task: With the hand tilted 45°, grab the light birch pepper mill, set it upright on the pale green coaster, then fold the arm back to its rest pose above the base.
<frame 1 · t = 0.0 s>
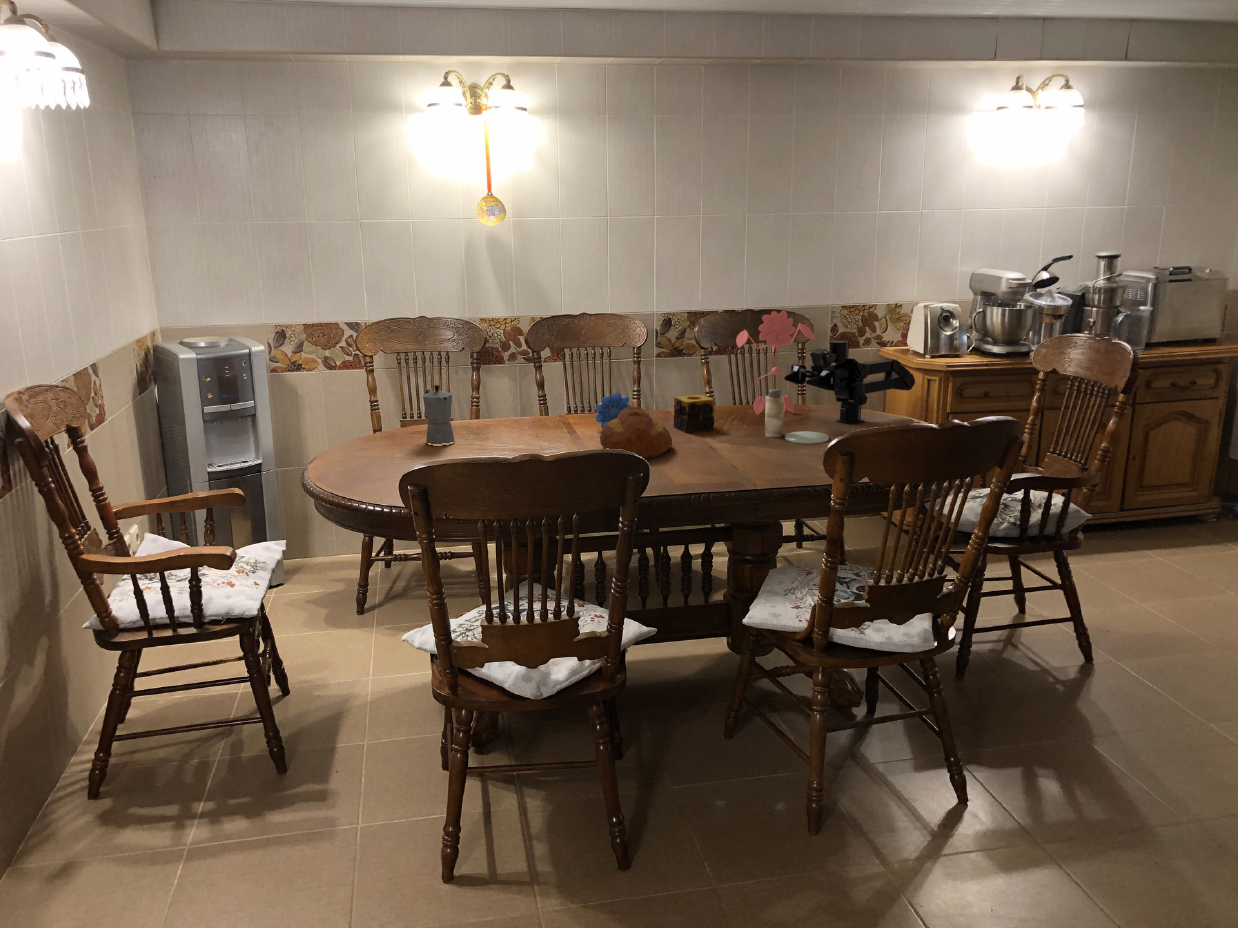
hand: (795, 380, 300), 17 cm above the table, tool horizontal, fingers open, 9 cm apart
coffeepot: (439, 443, 301), on the table
bread: (636, 450, 289), on the table
pepper mill: (773, 435, 302), on the table
pale green coaster: (806, 438, 296), on the table
grapes: (613, 429, 315), on the table
black and yellow cube: (693, 429, 313), on the table
figurine: (775, 416, 329), on the table
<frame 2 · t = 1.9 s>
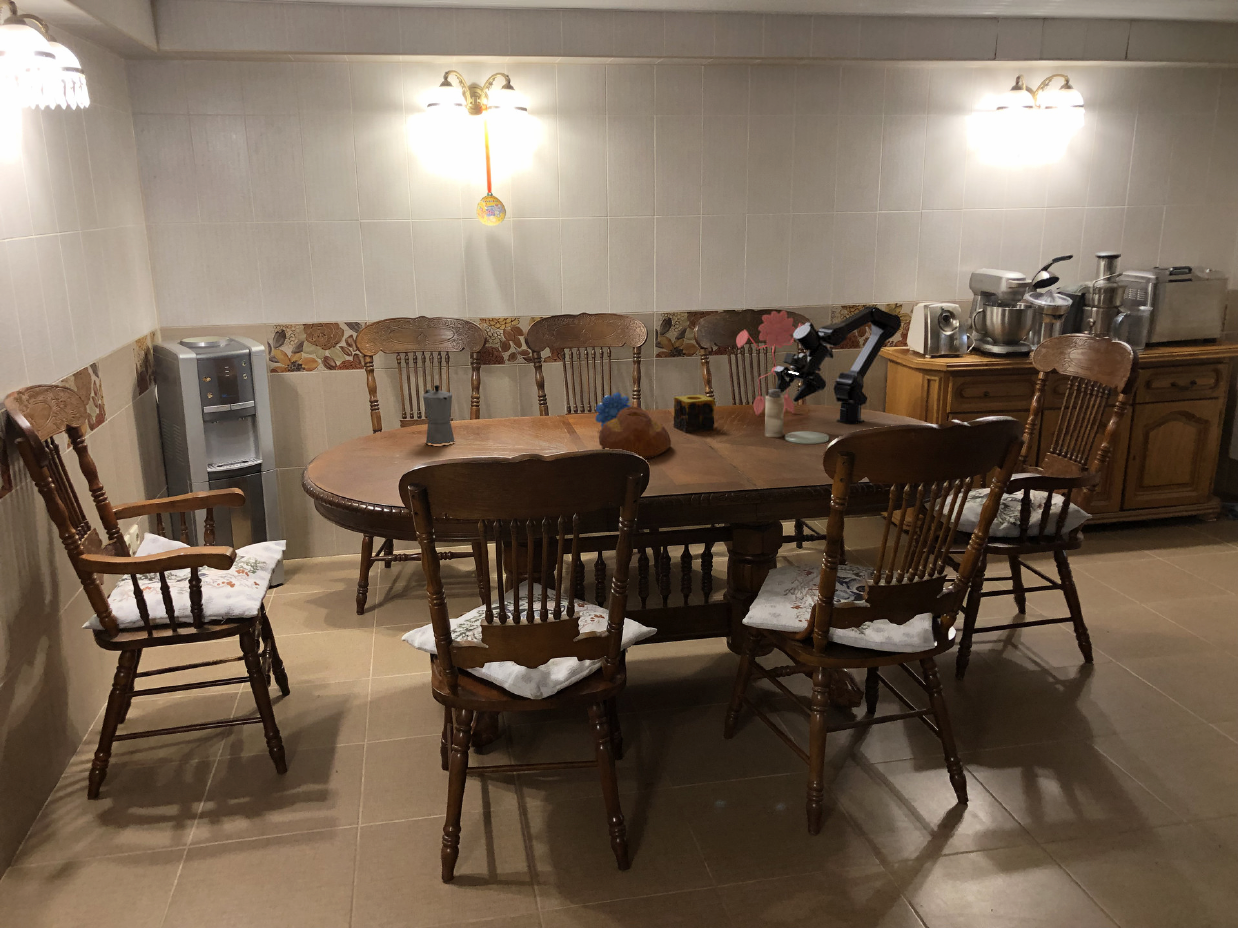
hand: (784, 398, 301), 11 cm above the table, tool tilted 45°, fingers open, 9 cm apart
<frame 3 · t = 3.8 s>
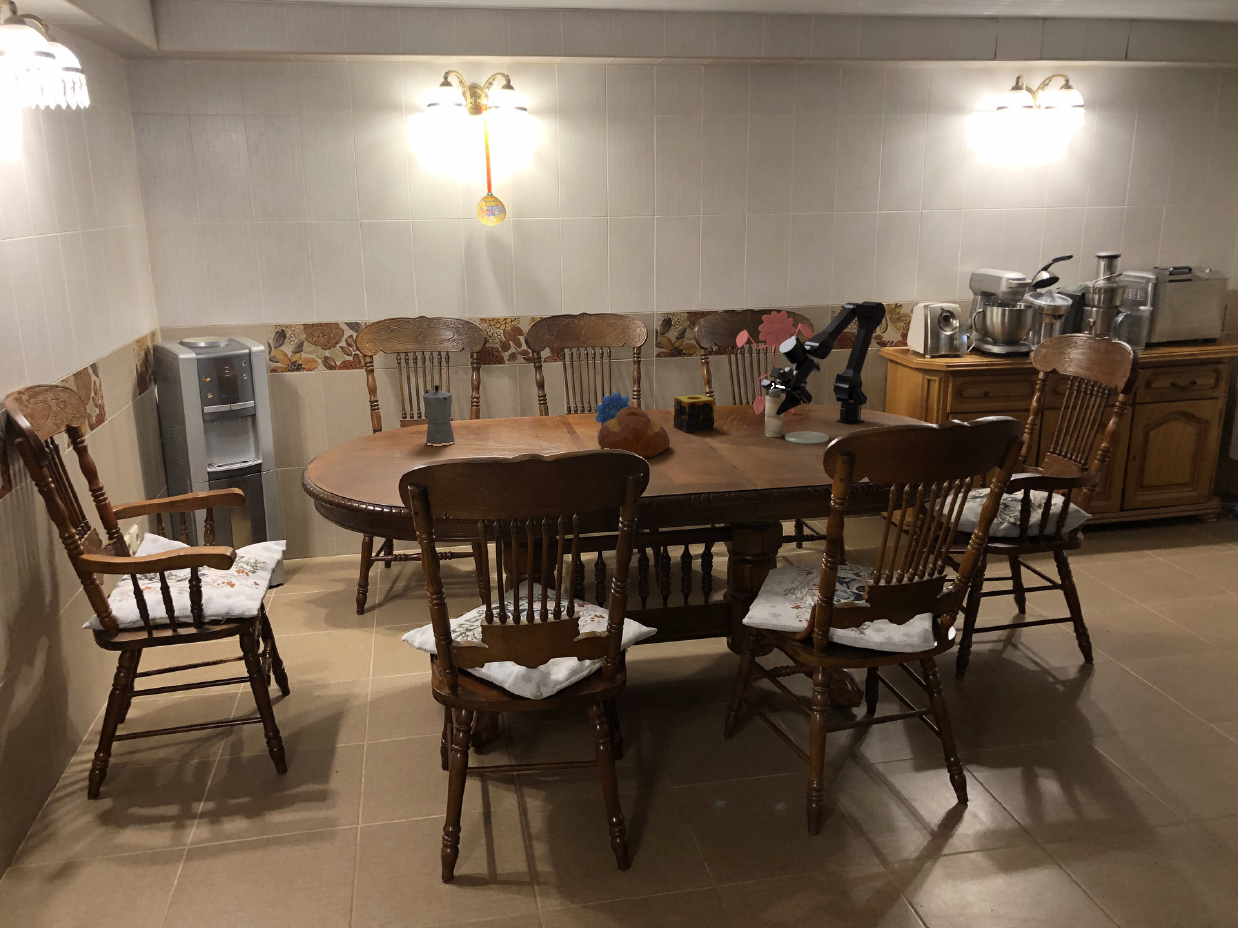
hand: (770, 413, 300), 7 cm above the table, tool tilted 45°, fingers closed on pepper mill, 5 cm apart
pepper mill: (773, 435, 302), on the table, touching gripper
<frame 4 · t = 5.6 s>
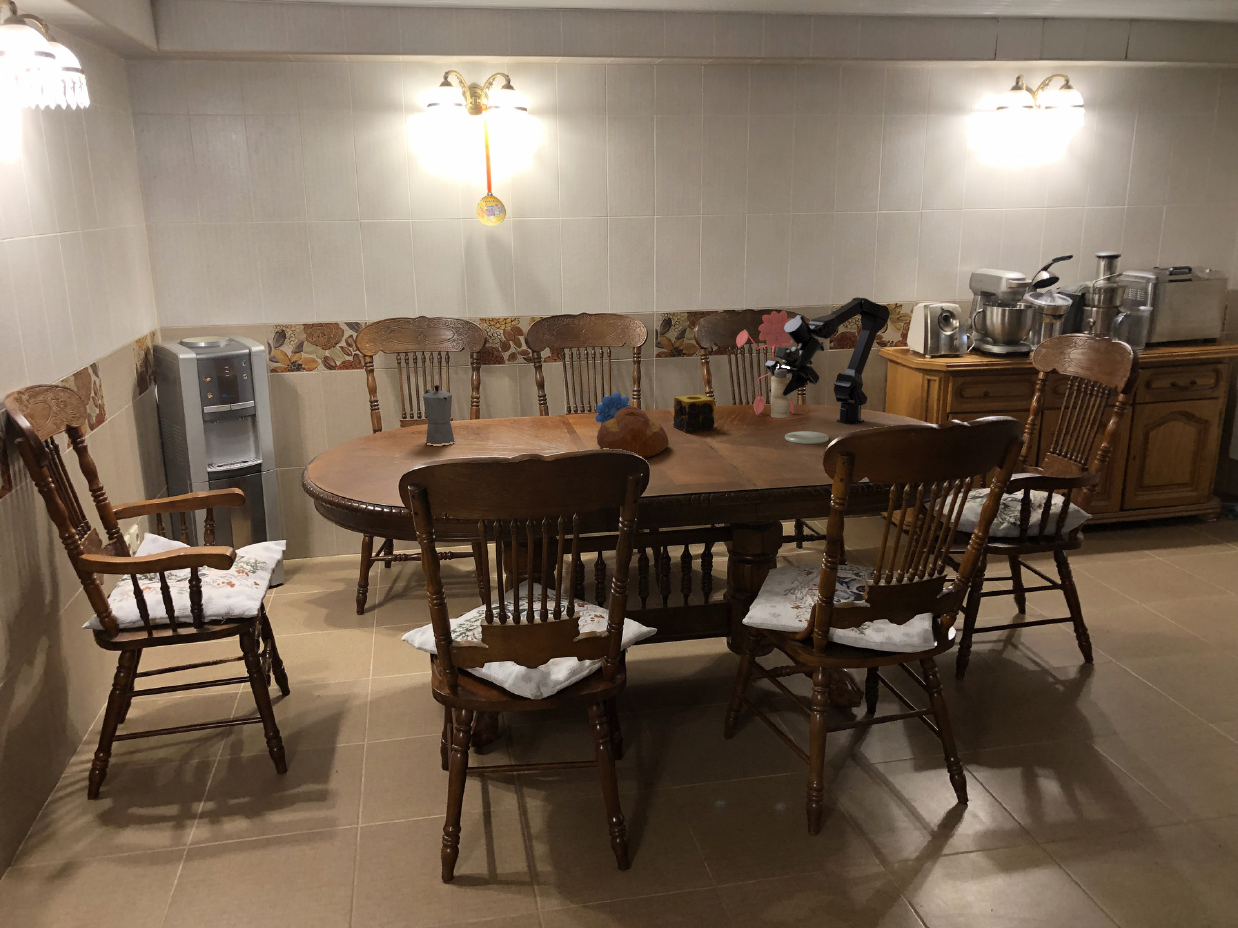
hand: (777, 393, 297), 13 cm above the table, tool tilted 45°, fingers closed on pepper mill, 5 cm apart
pepper mill: (779, 415, 299), point 6 cm above the table, touching gripper
everything else where it was.
when the fingers open (9 cm above the table, at t = 7.8 s): pepper mill stays where it is, resting on pale green coaster.
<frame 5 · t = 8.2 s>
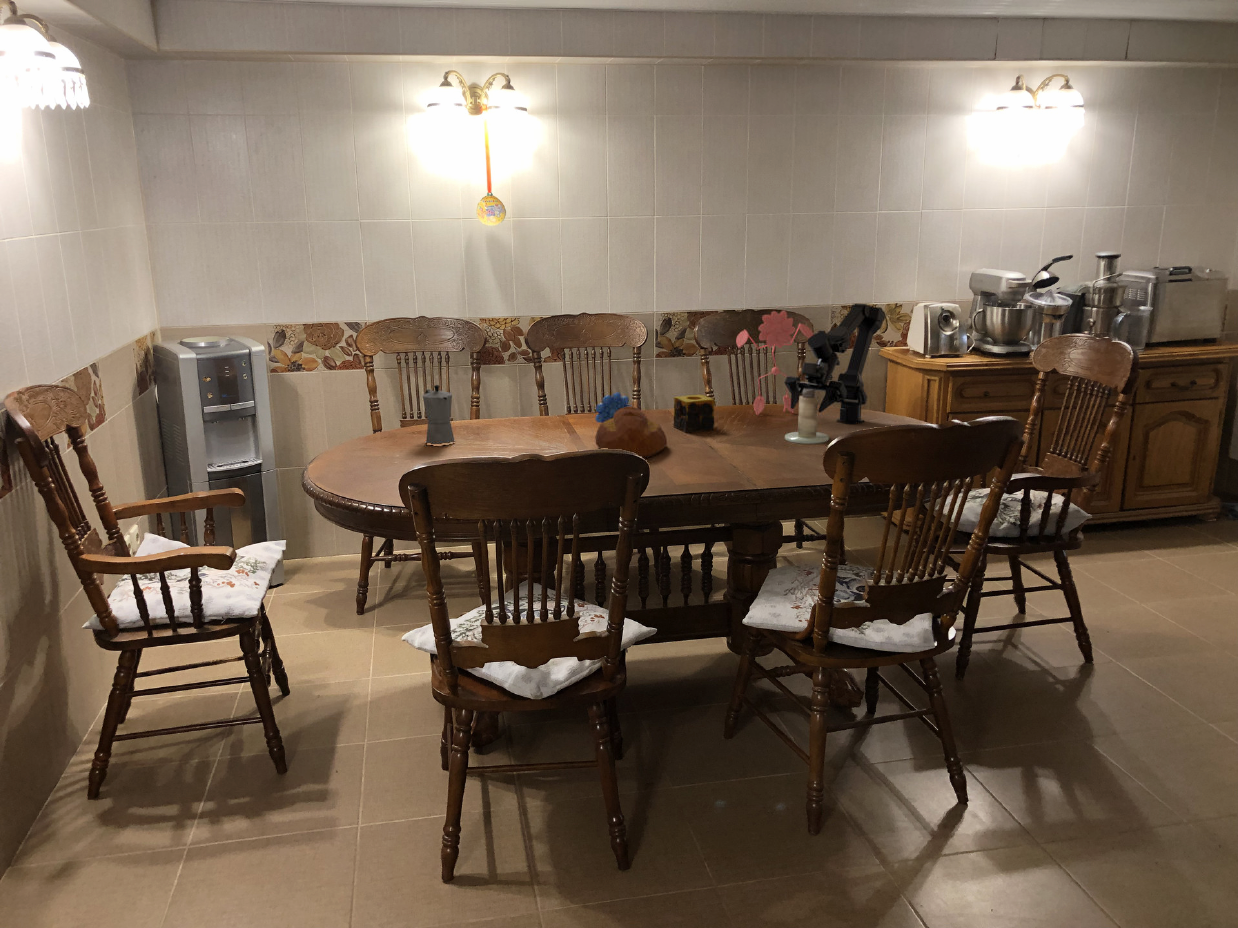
hand: (805, 410, 293), 9 cm above the table, tool tilted 45°, fingers open, 9 cm apart
pepper mill: (806, 436, 296), point 1 cm above the table, touching pale green coaster
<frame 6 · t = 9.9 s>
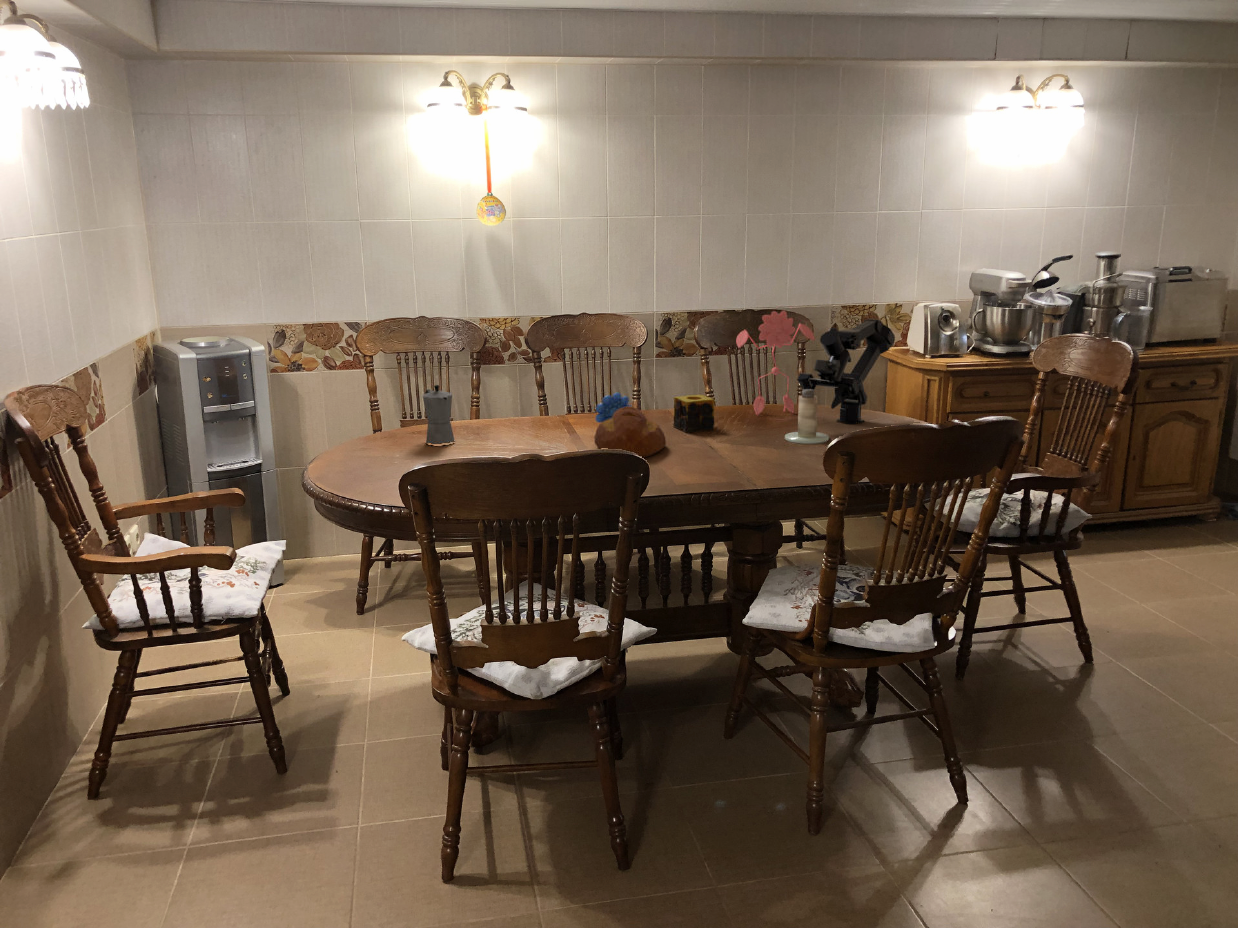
hand: (818, 406, 299), 9 cm above the table, tool tilted 45°, fingers open, 9 cm apart
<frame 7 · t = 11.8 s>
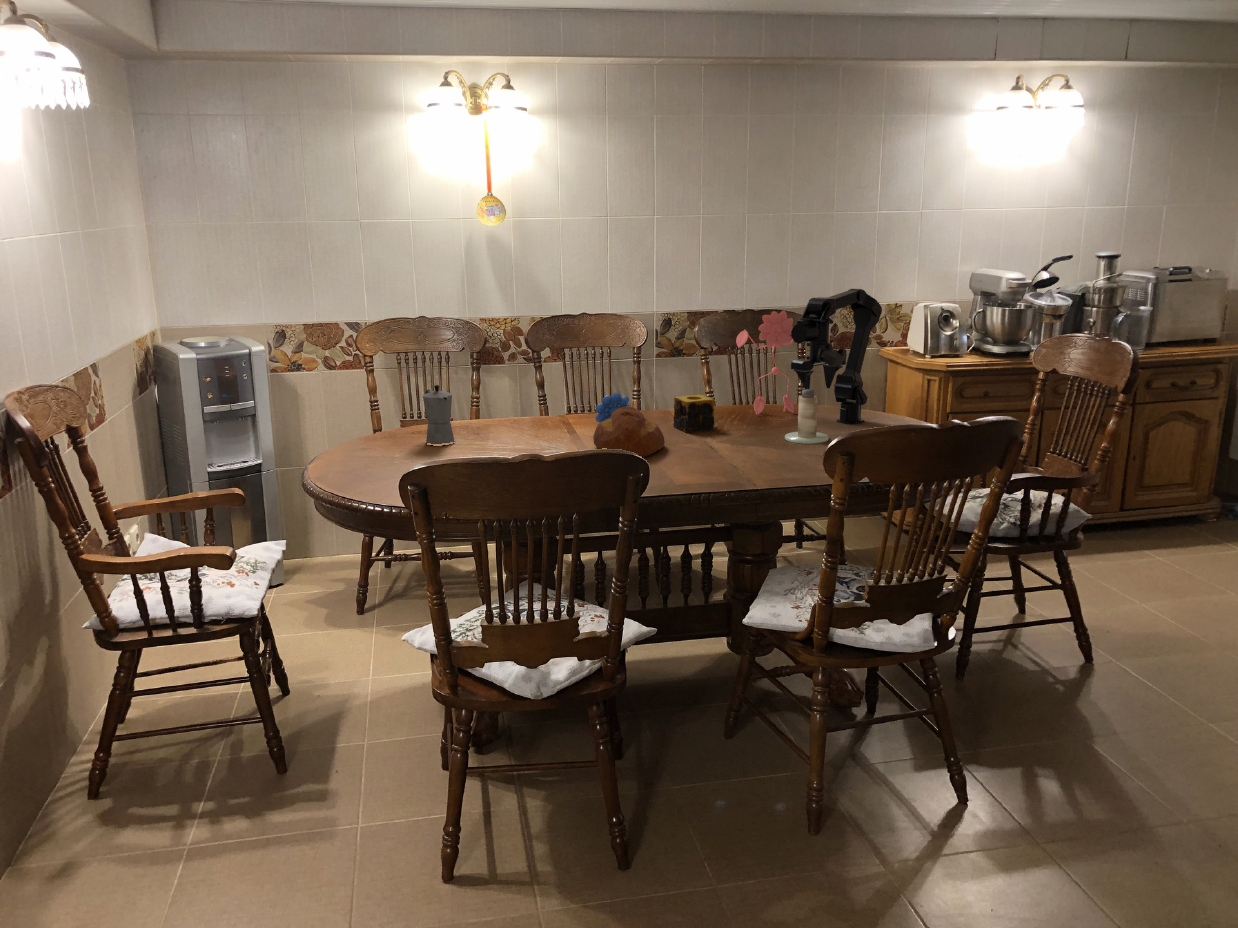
hand: (817, 390, 303), 13 cm above the table, tool pointing down, fingers open, 9 cm apart
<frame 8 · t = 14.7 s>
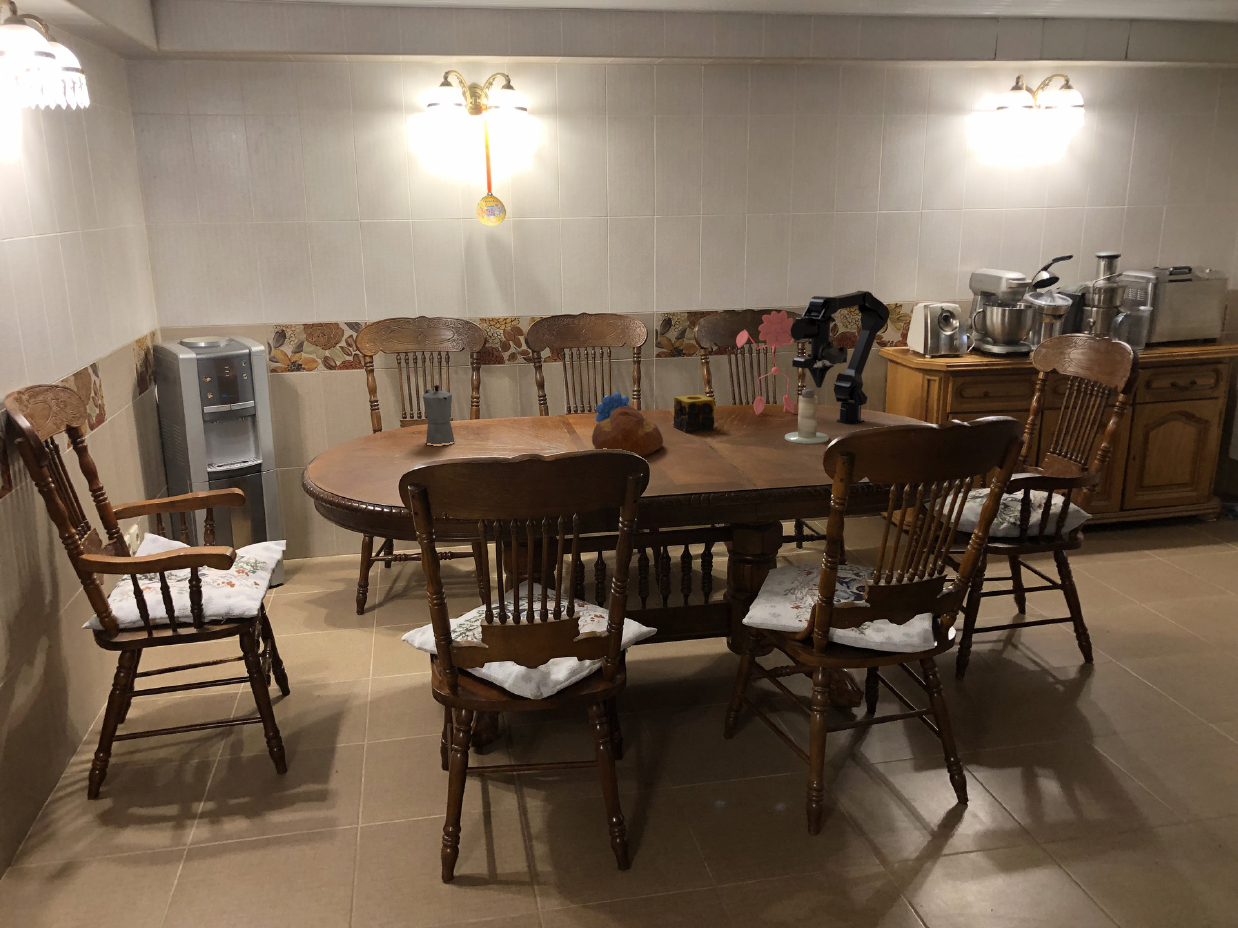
hand: (818, 387, 307), 13 cm above the table, tool pointing down, fingers closed
at the end: pepper mill inside the target area on the pale green coaster (0.1 cm from its centre), point 0.8 cm above the pale green coaster's base; pepper mill tilted 0°; the gripper is holding nothing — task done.
